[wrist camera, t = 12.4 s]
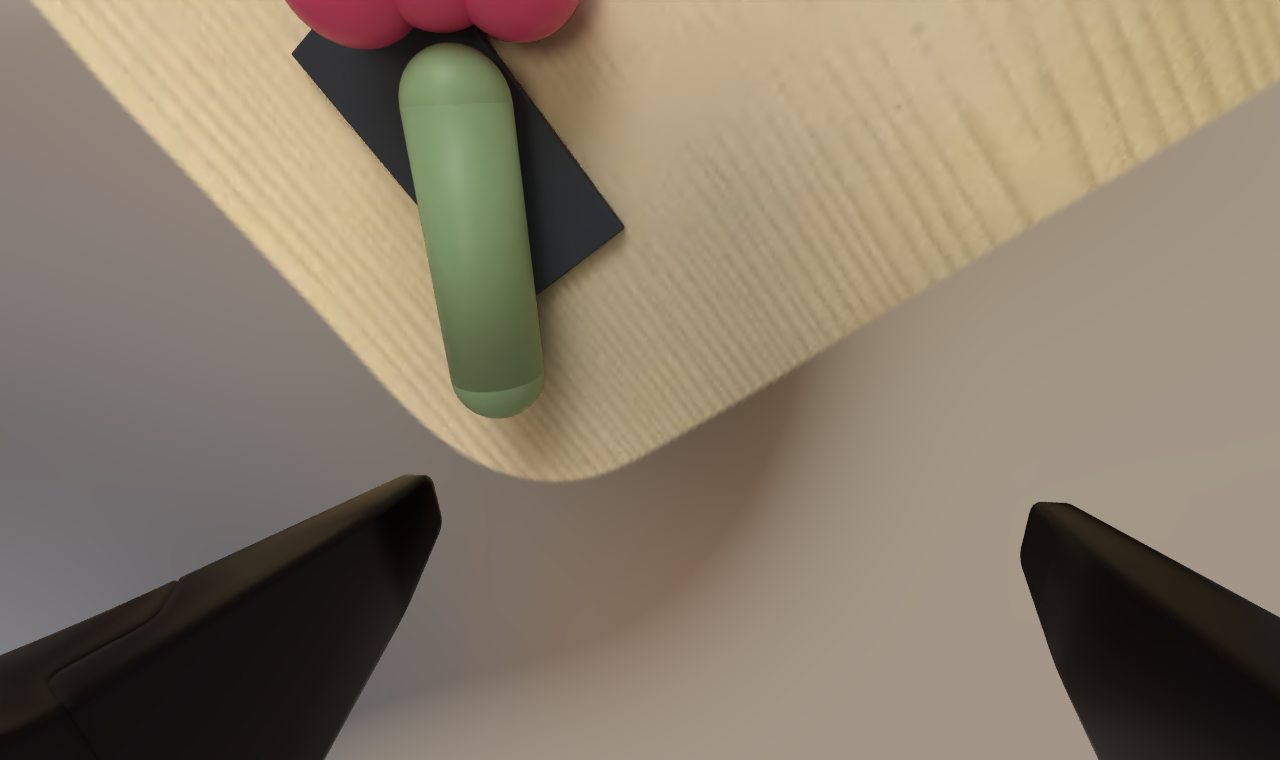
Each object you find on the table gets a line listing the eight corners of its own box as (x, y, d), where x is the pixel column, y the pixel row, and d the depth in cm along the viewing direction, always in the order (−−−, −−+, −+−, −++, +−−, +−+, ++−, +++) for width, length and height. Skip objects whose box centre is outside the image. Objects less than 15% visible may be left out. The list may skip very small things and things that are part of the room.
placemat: (625, 226, 19) (623, 229, 19) (513, 312, 21) (508, 316, 21) (404, -72, 17) (397, -76, 16) (299, 54, 18) (290, 53, 18)
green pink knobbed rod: (615, 388, 22) (617, 437, 19) (404, 400, 22) (368, 452, 18) (581, -124, 16) (575, -185, 13) (287, -113, 16) (203, -171, 12)
